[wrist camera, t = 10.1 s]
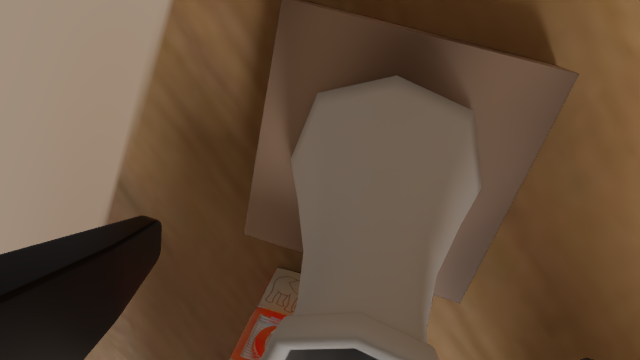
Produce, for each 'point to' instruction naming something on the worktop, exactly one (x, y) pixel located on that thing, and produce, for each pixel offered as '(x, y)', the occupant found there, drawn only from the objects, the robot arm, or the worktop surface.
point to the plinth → (424, 70)
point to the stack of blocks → (268, 315)
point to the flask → (376, 219)
